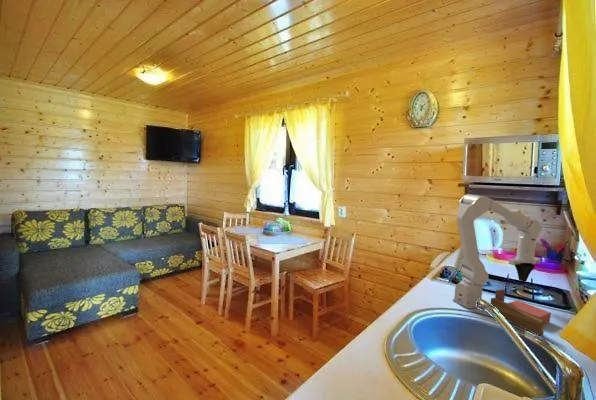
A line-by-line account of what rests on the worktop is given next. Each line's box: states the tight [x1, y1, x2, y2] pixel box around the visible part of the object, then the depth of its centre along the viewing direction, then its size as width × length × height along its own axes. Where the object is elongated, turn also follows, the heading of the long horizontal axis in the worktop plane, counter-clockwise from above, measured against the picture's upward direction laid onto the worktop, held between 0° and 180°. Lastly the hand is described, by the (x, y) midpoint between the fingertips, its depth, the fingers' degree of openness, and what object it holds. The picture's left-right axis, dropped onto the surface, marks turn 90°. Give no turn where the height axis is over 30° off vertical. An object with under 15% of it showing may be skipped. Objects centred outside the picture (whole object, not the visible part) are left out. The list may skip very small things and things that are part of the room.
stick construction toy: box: [450, 268, 463, 283], centre depth 146 cm, size 12×7×8 cm
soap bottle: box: [453, 245, 464, 271], centre depth 161 cm, size 12×12×20 cm
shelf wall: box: [489, 297, 546, 337], centre depth 107 cm, size 2×18×5 cm, turn 17°
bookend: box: [494, 288, 506, 302], centre depth 116 cm, size 4×1×8 cm, turn 107°
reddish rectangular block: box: [506, 299, 552, 326], centre depth 111 cm, size 8×11×4 cm
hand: (522, 280), depth 123 cm, fingers closed
